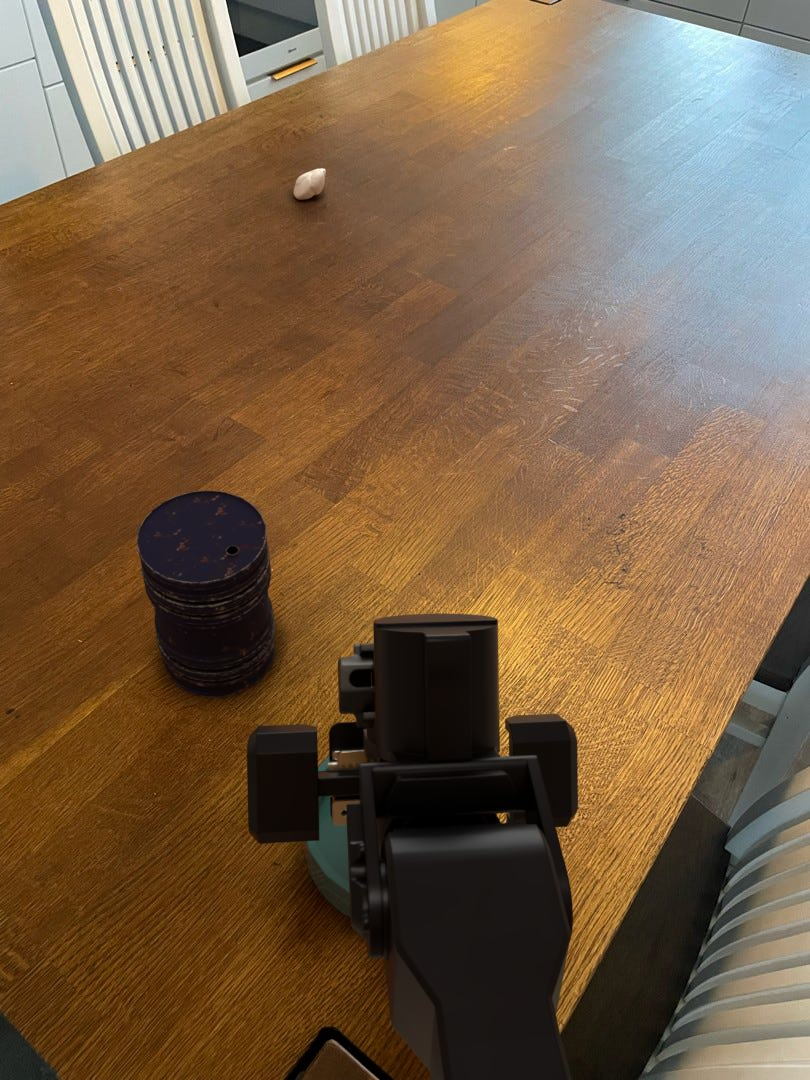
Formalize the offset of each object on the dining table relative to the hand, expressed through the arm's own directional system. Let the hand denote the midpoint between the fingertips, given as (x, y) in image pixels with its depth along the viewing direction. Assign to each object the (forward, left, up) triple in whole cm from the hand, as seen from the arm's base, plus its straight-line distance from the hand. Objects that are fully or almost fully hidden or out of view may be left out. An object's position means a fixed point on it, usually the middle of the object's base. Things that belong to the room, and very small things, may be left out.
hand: (398, 741), depth 59 cm
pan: (-1, 0, -12) cm, 12 cm away
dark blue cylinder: (+16, +15, -12) cm, 25 cm away
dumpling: (+103, +12, -12) cm, 104 cm away
